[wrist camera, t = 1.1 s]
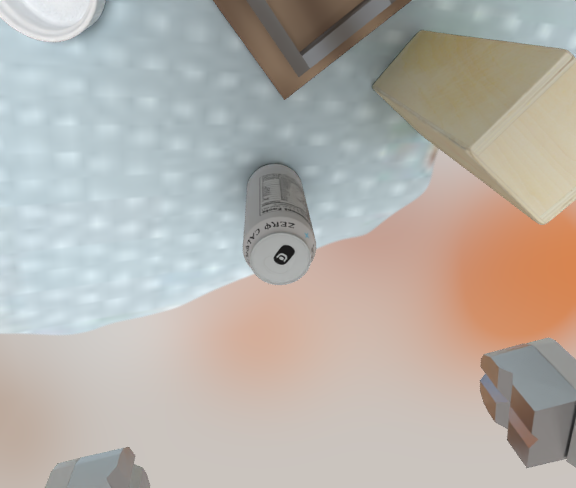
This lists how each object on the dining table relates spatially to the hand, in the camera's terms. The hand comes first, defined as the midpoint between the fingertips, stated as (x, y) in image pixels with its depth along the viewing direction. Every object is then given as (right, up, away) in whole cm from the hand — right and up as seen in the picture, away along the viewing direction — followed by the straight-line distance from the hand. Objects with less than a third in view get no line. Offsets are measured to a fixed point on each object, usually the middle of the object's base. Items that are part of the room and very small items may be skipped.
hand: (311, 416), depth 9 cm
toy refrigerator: (+13, +20, +31) cm, 39 cm away
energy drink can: (-2, +10, +36) cm, 37 cm away
